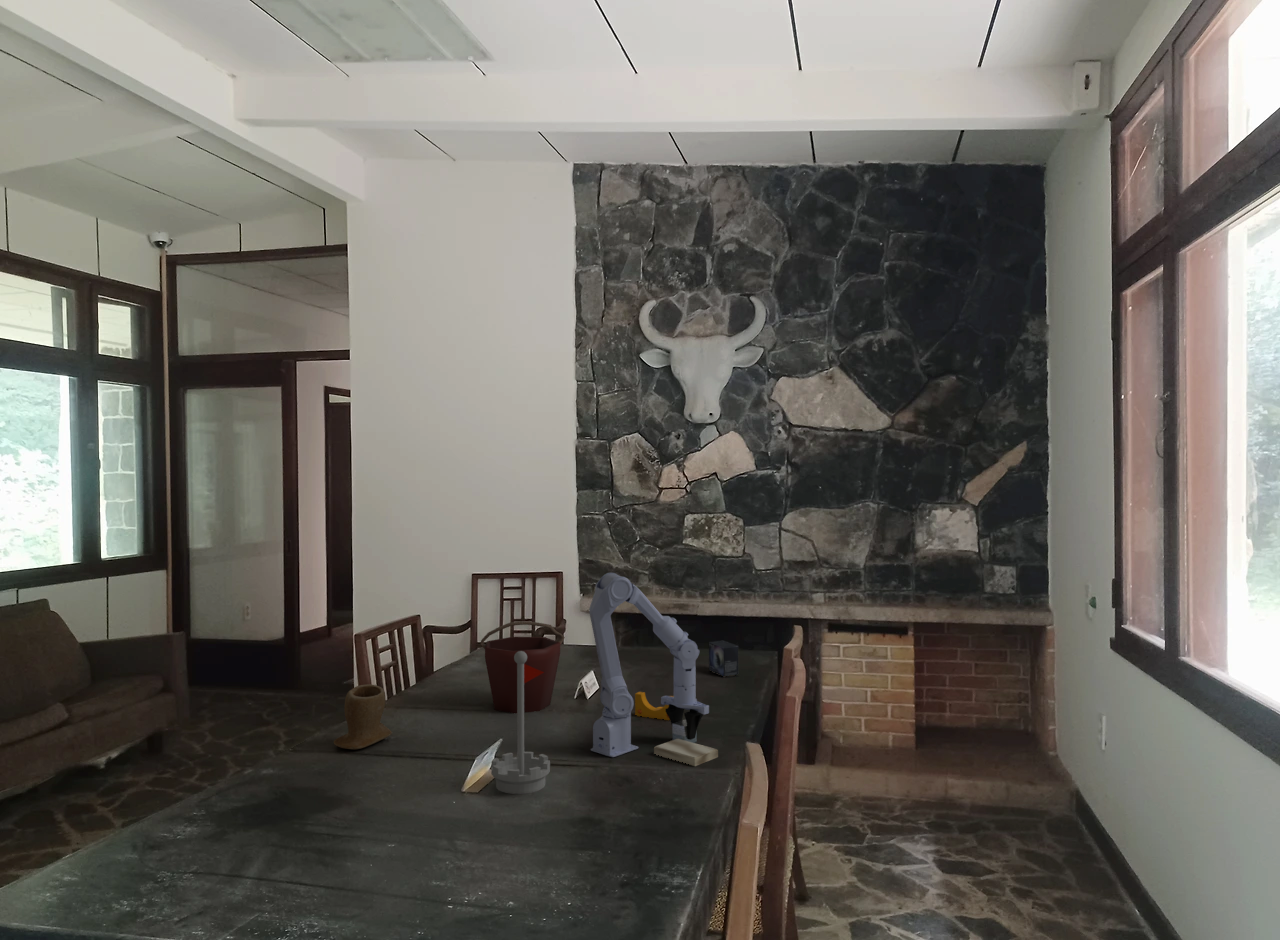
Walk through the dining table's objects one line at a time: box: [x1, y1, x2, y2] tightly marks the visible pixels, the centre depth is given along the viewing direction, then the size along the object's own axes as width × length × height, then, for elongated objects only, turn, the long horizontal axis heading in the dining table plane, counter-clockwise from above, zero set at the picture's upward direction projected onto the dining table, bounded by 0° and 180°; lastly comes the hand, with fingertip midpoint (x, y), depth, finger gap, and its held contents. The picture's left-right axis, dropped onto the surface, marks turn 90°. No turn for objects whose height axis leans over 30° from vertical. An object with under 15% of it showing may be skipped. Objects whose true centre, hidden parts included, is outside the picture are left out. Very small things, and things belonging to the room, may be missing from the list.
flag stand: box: [490, 651, 551, 795], centre depth 196 cm, size 13×13×30 cm
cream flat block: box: [653, 739, 719, 767], centre depth 215 cm, size 9×13×2 cm
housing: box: [671, 719, 698, 743], centre depth 226 cm, size 5×4×5 cm
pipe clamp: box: [634, 691, 674, 721], centre depth 249 cm, size 12×4×6 cm, turn 64°
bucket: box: [479, 621, 566, 714], centre depth 260 cm, size 24×22×25 cm
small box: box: [708, 640, 739, 676], centre depth 301 cm, size 11×6×10 cm, turn 25°
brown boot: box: [333, 683, 393, 750], centre depth 225 cm, size 15×12×15 cm
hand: (684, 736), depth 226 cm, fingers closed on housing, 4 cm apart
